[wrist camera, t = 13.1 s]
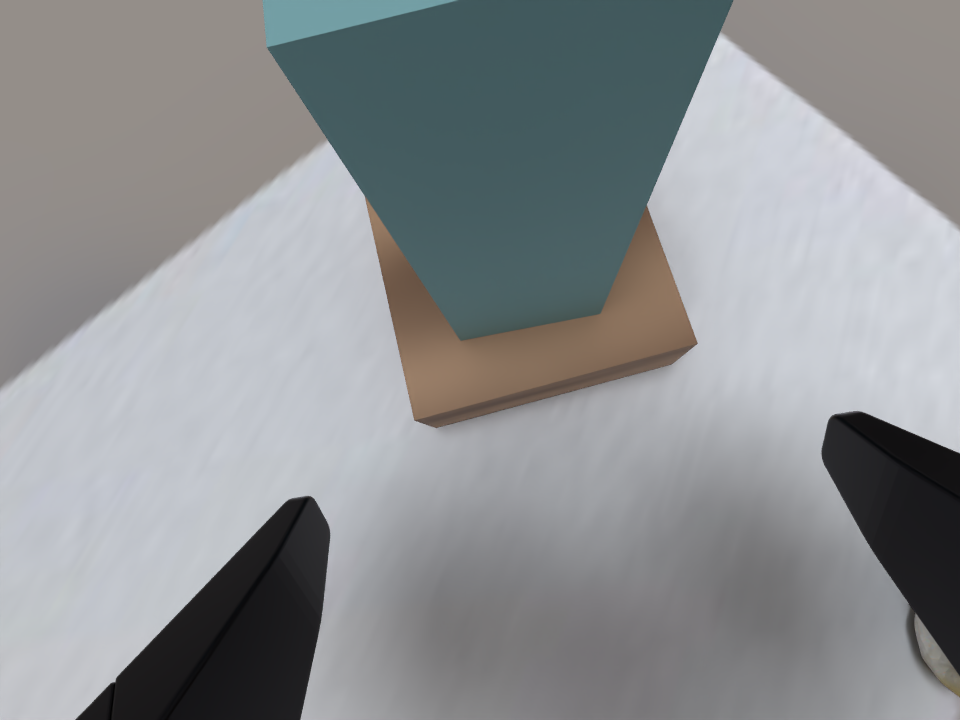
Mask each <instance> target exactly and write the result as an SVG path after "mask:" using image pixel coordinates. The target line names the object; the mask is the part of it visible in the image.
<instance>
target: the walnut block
mask: <svg viewBox="0 0 960 720" xmlns="http://www.w3.org/2000/svg"><path fill="white" fill-rule="evenodd" d="M365 199H366V204H367V208H368V213H369V217H370V222H371V226H372V231H373V235H374V240H375V245H376V249H377V254H378V258H379V263H380V267H381V272H382V276H383V281H384V285H385V290H386V294H387V299H388V303H389V308H390V312H391V317H392V321H393V326H394V330H395V335H396V339H397V344H398V348H399V353H400V357H401V362H402V367H403V371H404V376H405V380H406V385H407V389H408V394H409V398H410V403H411V407H412V412H413V416H414V420H415V421H418V422H420V423H423V424H426V425H429V426H432V427H435V428H437V427H441V426H445V425H449V424H452V423H456V422H460V421H463V420H467V419H471V418H474V417H478V416H482V415H486V414H489V413H493V412H497V411H500V410H504V409H508V408H512V407H515V406H519V405H523V404H526V403H530V402H534V401H538V400H541V399H545V398H549V397H552V396H556V395H560V394H563V393H567V392H571V391H575V390H578V389H582V388H586V387H589V386H593V385H597V384H601V383H604V382H608V381H612V380H615V379H619V378H623V377H626V376H630V375H634V374H638V373H641V372H645V371H649V370H652V369H656V368H660V367H664V366H667V365H671V364H673V363H674V362H675V361H676V360H678V359H679V358H680V357H681V356H683V355H684V354H685V353H686V352H688V351H689V350H690V349H691V348H693V347H694V346H695V345H697V344H698V343H697V340H696V338H695V335H694V332H693V329H692V327H691V324H690V321H689V319H688V316H687V313H686V311H685V308H684V305H683V302H682V300H681V297H680V294H679V292H678V289H677V286H676V284H675V281H674V278H673V275H672V273H671V270H670V267H669V265H668V262H667V259H666V256H665V254H664V251H663V248H662V246H661V243H660V240H659V238H658V235H657V232H656V229H655V227H654V224H653V221H652V219H651V216H650V213H649V211H648V208H647V205H646V208H645V210H644V212H643V215H642V217H641V219H640V222H639V224H638V226H637V229H636V231H635V234H634V236H633V238H632V241H631V243H630V245H629V248H628V250H627V252H626V255H625V257H624V260H623V262H622V264H621V267H620V269H619V271H618V274H617V276H616V278H615V281H614V283H613V285H612V288H611V290H610V293H609V295H608V297H607V300H606V302H605V304H604V307H603V309H602V311H601V314H598V315H592V316H587V317H582V318H577V319H572V320H567V321H561V322H556V323H551V324H546V325H540V326H535V327H530V328H525V329H519V330H514V331H509V332H504V333H498V334H493V335H488V336H483V337H477V338H472V339H467V340H462V341H460V339H459V338H458V336H457V335H456V333H455V332H454V330H453V329H452V327H451V326H450V324H449V323H448V321H447V320H446V318H445V317H444V315H443V314H442V312H441V311H440V309H439V308H438V306H437V304H436V303H435V301H434V300H433V298H432V297H431V295H430V294H429V292H428V291H427V289H426V288H425V286H424V285H423V283H422V282H421V280H420V279H419V277H418V276H417V274H416V273H415V271H414V270H413V268H412V267H411V265H410V264H409V262H408V261H407V259H406V257H405V256H404V254H403V253H402V251H401V250H400V248H399V247H398V245H397V244H396V242H395V241H394V239H393V238H392V236H391V235H390V233H389V232H388V230H387V229H386V227H385V226H384V224H383V223H382V221H381V220H380V218H379V217H378V215H377V214H376V212H375V210H374V209H373V207H372V206H371V204H370V203H369V201H368V200H367V198H366V197H365Z"/></svg>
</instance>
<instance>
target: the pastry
mask: <svg viewBox="0 0 960 720" xmlns="http://www.w3.org/2000/svg"><path fill="white" fill-rule="evenodd" d="M914 623H915V632H916V637H917V641H918V645H919V648H920V653H921V656H922V658H923V660H924V661H925V662H926V664H927V665H928V666H929V668H930V669H931V670H932V671H933V673H934V674H935V675H936V677H937V678H938V679H939V680H940V682H941V683H942V684H943V685H944V686H946V687H947V688H948V689H950V690H951V691H952V692H954V693H955V694H956V695H957V696H959V697H960V676H959V675H958V673H957V672H956V670H955V669H954V668H953V666H952V665H951V663H950V662H949V660H948V659H947V657H946V656H945V655H944V653H943V652H942V650H941V649H940V647H939V646H938V645H937V643H936V642H935V640H934V639H933V637H932V636H931V635H930V633H929V632H928V630H927V629H926V627H925V626H924V624H923V623H922V622H921V620H920V619H919V617H918V616H917V614H916V613H915V619H914Z"/></svg>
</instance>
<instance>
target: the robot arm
mask: <svg viewBox="0 0 960 720" xmlns="http://www.w3.org/2000/svg"><path fill="white" fill-rule="evenodd" d="M822 460H823V462H824V465H825V467H826V469H827V471H828V472H829V474H830V476H831V478H832V480H833V481H834V483H835V485H836V487H837V489H838V490H839V492H840V494H841V496H842V498H843V500H844V501H845V503H846V505H847V507H848V509H849V510H850V512H851V514H852V516H853V518H854V520H855V521H856V523H857V525H858V527H859V529H860V530H861V532H862V534H863V536H864V537H865V539H866V541H867V543H868V544H869V546H870V548H871V549H872V551H873V552H874V554H875V555H876V557H877V558H878V560H879V561H880V563H881V564H882V566H883V567H884V568H885V570H886V571H887V573H888V574H889V576H890V577H891V578H892V580H893V581H894V583H895V584H896V586H897V587H898V589H899V590H900V591H901V593H902V594H903V596H904V597H905V599H906V600H907V601H908V603H909V604H910V606H911V607H912V609H913V610H914V612H915V613H916V614H917V616H918V617H919V619H920V620H921V622H922V623H923V624H924V626H925V627H926V629H927V630H928V632H929V633H930V635H931V636H932V637H933V639H934V640H935V642H936V643H937V645H938V646H939V647H940V649H941V650H942V652H943V653H944V655H945V656H946V657H947V659H948V660H949V662H950V663H951V665H952V666H953V668H954V669H955V670H956V672H957V673H958V675H959V676H960V453H958V452H955V451H953V450H951V449H948V448H946V447H943V446H941V445H939V444H936V443H934V442H932V441H929V440H927V439H925V438H922V437H920V436H918V435H915V434H913V433H911V432H908V431H906V430H904V429H901V428H899V427H897V426H894V425H892V424H890V423H887V422H885V421H883V420H880V419H878V418H876V417H873V416H871V415H869V414H866V413H863V412H860V411H853V412H846V413H840V414H835V415H832V416H831V417H830V419H829V421H828V424H827V429H826V433H825V437H824V442H823V446H822ZM329 543H330V529H329V525H328V523H327V521H326V519H325V517H324V515H323V514H322V512H321V510H320V508H319V506H318V504H317V503H316V501H315V499H314V498H312V497H311V496H304V497H298V498H292V499H289V500H288V501H286V502H285V503H284V504H283V505H282V506H281V507H280V508H279V509H278V510H277V511H276V513H275V514H274V515H273V516H272V517H271V518H270V519H269V520H268V521H267V522H266V523H265V524H264V525H263V526H262V527H261V528H260V529H259V530H258V531H257V532H256V533H255V534H254V535H253V536H252V537H251V538H250V539H249V541H248V542H247V543H246V544H245V545H244V546H243V547H242V548H241V549H240V550H239V551H238V552H237V553H236V554H235V555H234V556H233V557H232V558H231V559H230V560H229V561H228V562H227V563H226V564H225V565H224V566H223V568H222V569H221V570H220V571H219V572H218V573H217V574H216V575H215V576H214V577H213V578H212V579H211V580H210V581H209V582H208V583H207V584H206V585H205V586H204V587H203V588H202V589H201V590H200V591H199V592H198V593H197V595H196V596H195V597H194V598H193V599H192V600H191V601H190V602H189V603H188V604H187V605H186V606H185V607H184V608H183V609H182V610H181V611H180V612H179V613H178V614H177V615H176V616H175V617H174V618H173V619H172V620H171V621H170V623H169V624H168V625H167V626H166V627H165V628H164V629H163V630H162V631H161V632H160V633H159V634H158V635H157V636H156V637H155V638H154V639H153V640H152V641H151V642H150V643H149V644H148V645H147V646H146V647H145V648H144V650H143V651H142V652H141V653H140V654H139V655H138V656H137V657H136V658H135V659H134V660H133V661H132V662H131V663H130V664H129V665H128V666H127V667H126V668H125V669H124V670H123V671H122V672H121V673H120V674H119V675H118V676H117V678H116V681H115V682H113V683H111V684H110V685H109V686H108V687H107V688H106V689H105V690H104V691H103V692H102V693H101V694H100V695H99V696H98V697H97V698H96V699H95V700H94V701H93V702H92V703H91V704H90V705H89V706H88V707H87V708H86V709H85V710H84V711H83V712H82V713H81V714H80V715H79V716H78V717H77V719H76V720H300V719H301V714H302V709H303V705H304V700H305V695H306V691H307V686H308V681H309V676H310V672H311V667H312V662H313V657H314V653H315V648H316V643H317V639H318V634H319V629H320V623H321V617H322V610H323V601H324V591H325V582H326V572H327V563H328V553H329Z"/></svg>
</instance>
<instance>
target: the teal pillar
mask: <svg viewBox="0 0 960 720" xmlns="http://www.w3.org/2000/svg"><path fill="white" fill-rule="evenodd" d="M732 2H733V0H263V9H264V20H265V31H266V43H267V48H268V50H269V51H270V53H271V54H272V56H273V57H274V59H275V60H276V62H277V63H278V65H279V66H280V68H281V69H282V71H283V72H284V74H285V75H286V77H287V79H288V80H289V82H290V83H291V85H292V86H293V88H294V89H295V91H296V92H297V94H298V95H299V96H300V98H301V100H302V101H303V103H304V104H305V106H306V107H307V109H308V110H309V112H310V113H311V115H312V116H313V118H314V120H315V121H316V123H317V124H318V125H319V127H320V129H321V130H322V132H323V133H324V134H325V136H326V138H327V139H328V141H329V142H330V144H331V145H332V147H333V148H334V150H335V151H336V153H337V154H338V156H339V157H340V159H341V160H342V162H343V163H344V165H345V167H346V168H347V170H348V171H349V173H350V174H351V176H352V177H353V179H354V180H355V182H356V183H357V185H358V186H359V188H360V189H361V191H362V192H363V194H364V195H365V197H366V198H367V200H368V201H369V203H370V204H371V206H372V207H373V209H374V210H375V212H376V214H377V215H378V217H379V218H380V220H381V221H382V223H383V224H384V226H385V227H386V229H387V230H388V232H389V233H390V235H391V236H392V238H393V239H394V241H395V242H396V244H397V245H398V247H399V248H400V250H401V251H402V253H403V254H404V256H405V257H406V259H407V261H408V262H409V264H410V265H411V267H412V268H413V270H414V271H415V273H416V274H417V276H418V277H419V279H420V280H421V282H422V283H423V285H424V286H425V288H426V289H427V291H428V292H429V294H430V295H431V297H432V298H433V300H434V301H435V303H436V304H437V306H438V308H439V309H440V311H441V312H442V314H443V315H444V317H445V318H446V320H447V321H448V323H449V324H450V326H451V327H452V329H453V330H454V332H455V333H456V335H457V336H458V338H459V339H460V341H462V340H467V339H472V338H477V337H483V336H488V335H493V334H498V333H504V332H509V331H514V330H519V329H525V328H530V327H535V326H540V325H546V324H551V323H556V322H561V321H567V320H572V319H577V318H582V317H587V316H592V315H598V314H601V311H602V309H603V307H604V304H605V302H606V300H607V297H608V295H609V293H610V290H611V288H612V285H613V283H614V281H615V278H616V276H617V274H618V271H619V269H620V267H621V264H622V262H623V260H624V257H625V255H626V252H627V250H628V248H629V245H630V243H631V241H632V238H633V236H634V234H635V231H636V229H637V226H638V224H639V222H640V219H641V217H642V215H643V212H644V210H645V208H646V205H647V203H648V201H649V198H650V196H651V193H652V191H653V189H654V186H655V184H656V182H657V179H658V177H659V175H660V172H661V170H662V168H663V165H664V163H665V160H666V158H667V156H668V153H669V151H670V149H671V146H672V144H673V142H674V139H675V137H676V135H677V132H678V130H679V127H680V125H681V123H682V120H683V118H684V116H685V113H686V111H687V109H688V106H689V104H690V102H691V99H692V97H693V94H694V92H695V90H696V87H697V85H698V83H699V80H700V78H701V76H702V73H703V71H704V69H705V66H706V64H707V61H708V59H709V57H710V54H711V52H712V50H713V47H714V45H715V43H716V40H717V38H718V35H719V33H720V31H721V28H722V26H723V24H724V21H725V19H726V17H727V14H728V12H729V10H730V7H731V5H732Z"/></svg>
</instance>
